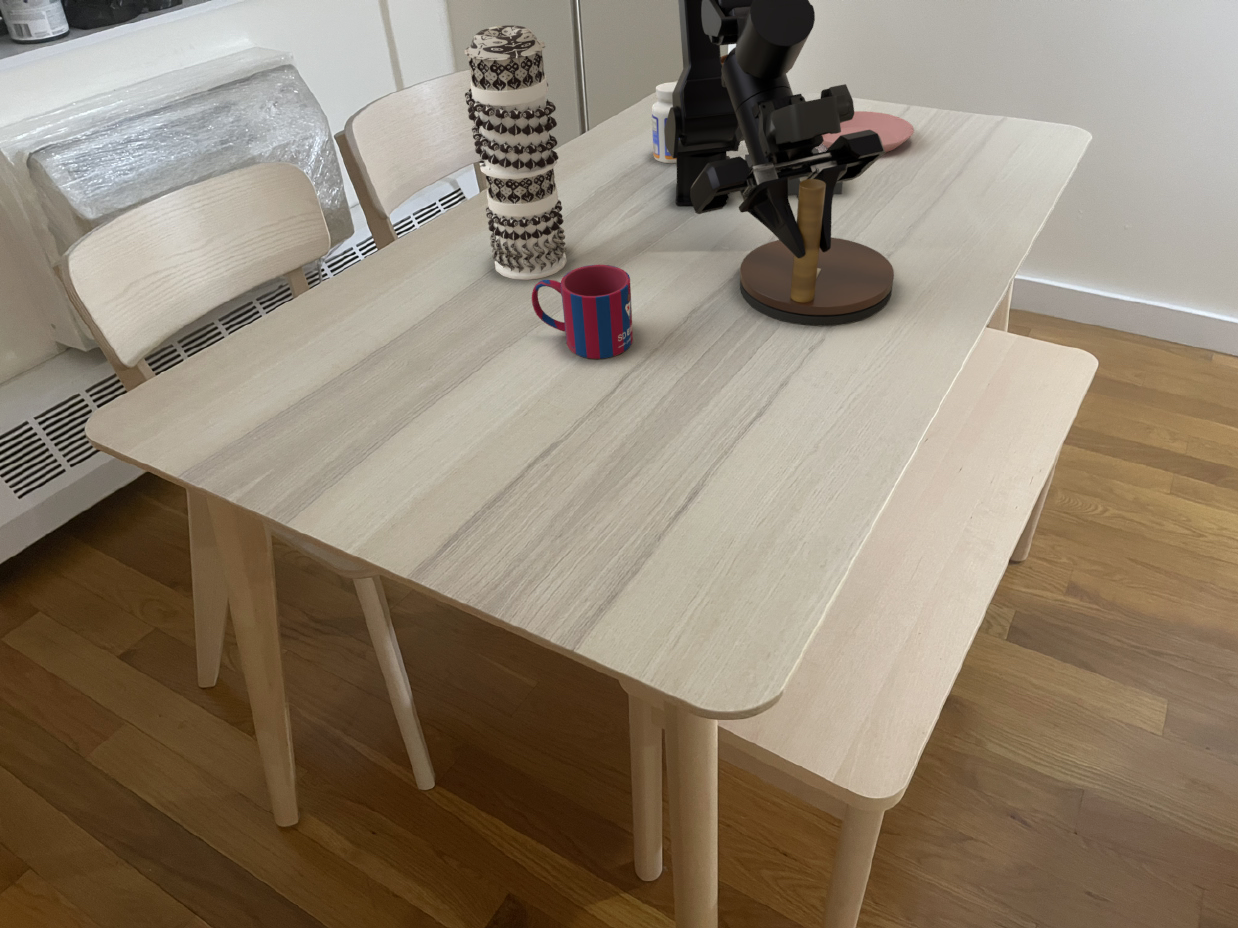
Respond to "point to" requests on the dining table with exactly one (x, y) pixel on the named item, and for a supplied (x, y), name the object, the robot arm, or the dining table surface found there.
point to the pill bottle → (662, 121)
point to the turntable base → (813, 319)
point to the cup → (592, 310)
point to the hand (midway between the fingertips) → (814, 253)
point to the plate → (875, 128)
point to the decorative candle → (516, 151)
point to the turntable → (816, 267)
